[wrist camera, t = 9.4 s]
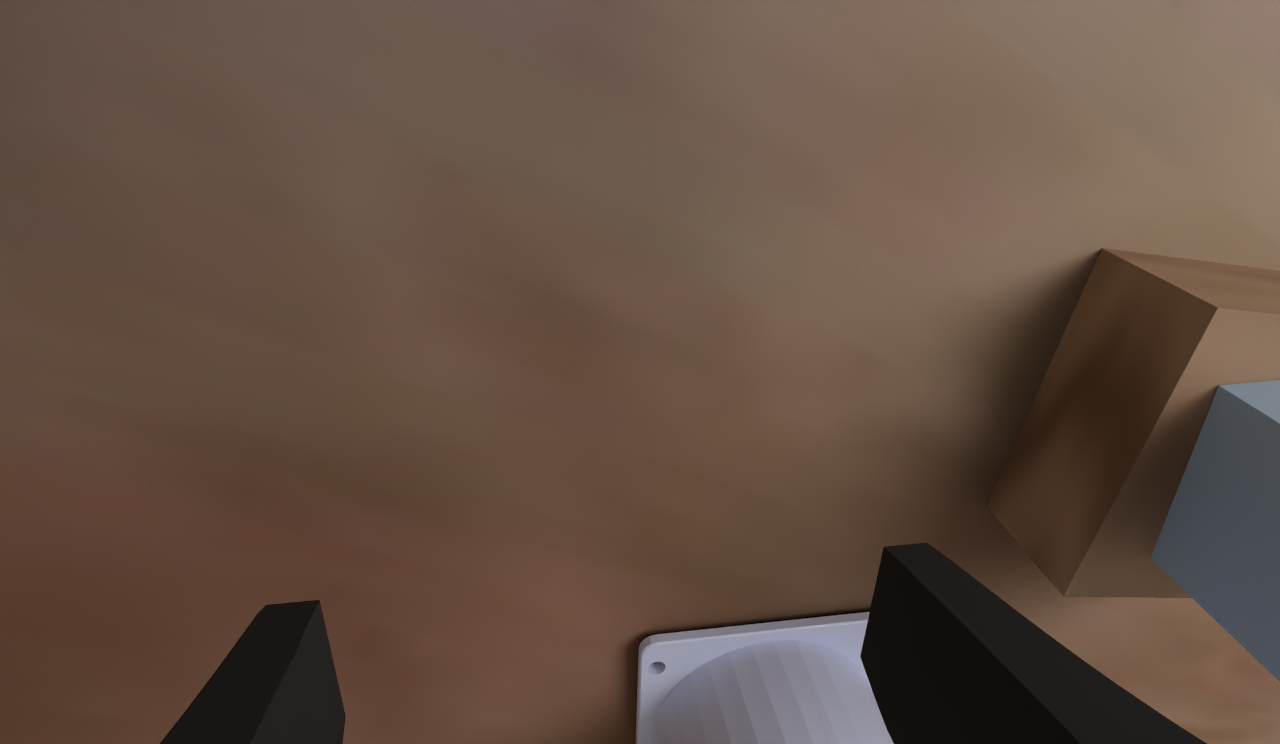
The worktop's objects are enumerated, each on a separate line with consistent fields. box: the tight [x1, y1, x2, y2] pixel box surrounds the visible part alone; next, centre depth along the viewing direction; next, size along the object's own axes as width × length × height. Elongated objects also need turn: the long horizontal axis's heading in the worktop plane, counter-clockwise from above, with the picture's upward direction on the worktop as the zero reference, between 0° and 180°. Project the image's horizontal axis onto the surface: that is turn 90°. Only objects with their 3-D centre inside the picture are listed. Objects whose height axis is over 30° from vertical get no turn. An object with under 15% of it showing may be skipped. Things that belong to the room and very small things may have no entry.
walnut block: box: [986, 248, 1280, 598], centre depth 21 cm, size 8×8×4 cm
